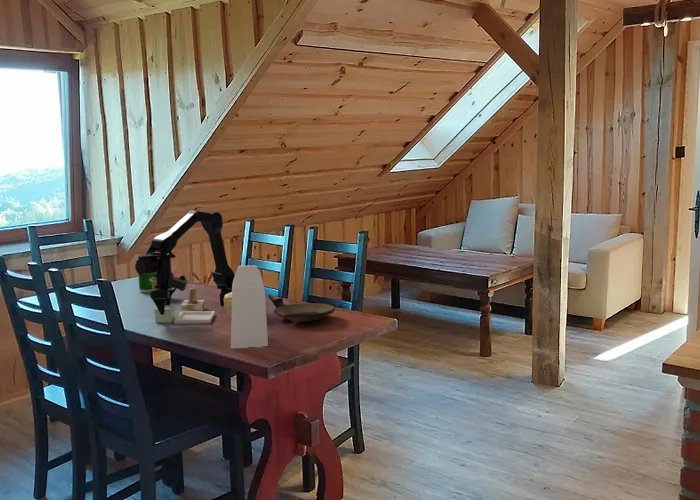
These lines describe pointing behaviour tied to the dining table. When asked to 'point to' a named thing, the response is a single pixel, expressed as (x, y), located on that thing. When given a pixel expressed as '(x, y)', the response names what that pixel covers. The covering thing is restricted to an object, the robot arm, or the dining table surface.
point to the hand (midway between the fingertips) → (165, 311)
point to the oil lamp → (301, 310)
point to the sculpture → (228, 303)
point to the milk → (248, 309)
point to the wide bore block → (193, 306)
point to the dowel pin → (192, 296)
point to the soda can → (146, 283)
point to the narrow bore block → (165, 314)
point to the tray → (194, 317)
